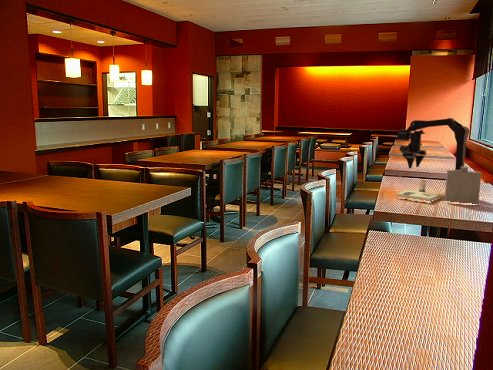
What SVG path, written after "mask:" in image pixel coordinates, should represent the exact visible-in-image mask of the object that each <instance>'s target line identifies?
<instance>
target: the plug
mask: <svg viewBox="0 0 493 370" xmlns="http://www.w3.org/2000/svg"><path fill="white" fill-rule="evenodd" d="M426 186H427V180H426V179H419V186H418V192H425V193H426Z"/></svg>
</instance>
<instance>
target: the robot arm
mask: <svg viewBox="0 0 493 370" xmlns="http://www.w3.org/2000/svg"><path fill="white" fill-rule="evenodd" d="M442 126H443V127H444V126H448V127H449V129H450V130H451V131H452V132H454V133H453V134H454V139H455V142H456V148H455V149H456V151H455V152H456V153H455V166H454V167H455V169H454V170H461V167H465V160H466V159H465V158H466V146H467V143H466V142H467V141H468V138H469V136H470V135H469V134H470V128H468V127H467V126H466V125H465V126H464V125H462V124H461V123H459V122H458V121H456V120H455V119H454V118H452V117H448V118H442V119H432V120H431V119H430V120H425V119H418V120H417V119H414V120H412V121H411V122H410V123H409V126H408V127H407V129H403V128H402V129H399V130H398V132H397V135H396V136H397V137H396V138H397V140H398V141H399V142H409V141H410V142H409V143H408V144H407V145H406V146H405V145H400V146H399V151H400V153H401V154H402V157H403V158H404V159H405V160H406V163H407V166H408V169H412V167H413V165H414V162H415V167H416V168H419V167H420V165H421V163H422V161H423V160H424V159H425V157H426V155H427V151H426V150H425V149H421V146H422V145H423V143H422V142H421V141H422V135H425V134H426V132H425V131H424V129H427V128H432V127H442Z"/></svg>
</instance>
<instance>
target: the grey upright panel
mask: <svg viewBox="0 0 493 370" xmlns="http://www.w3.org/2000/svg"><path fill="white" fill-rule="evenodd" d="M445 178H446V179H445V191H444V200H443V201H450V202H459V203H472V204H478V205H479V201H480V191H481V182H482V181H481V180H482V172H481V171H474V170H473V171H469V167H468V166H464V167H461V170H455V169H448V170H446V177H445Z"/></svg>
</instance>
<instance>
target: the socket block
mask: <svg viewBox="0 0 493 370" xmlns="http://www.w3.org/2000/svg"><path fill="white" fill-rule="evenodd" d="M397 196H400V197H406V198H413V199H419V200H426V201H432V200H435V199H438V198H440V197H441V194H437V193H430V192H426V191H425V192H419V191H417V190H410V189H407V190H403V191H401V192H397V193H396V197H397Z"/></svg>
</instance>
